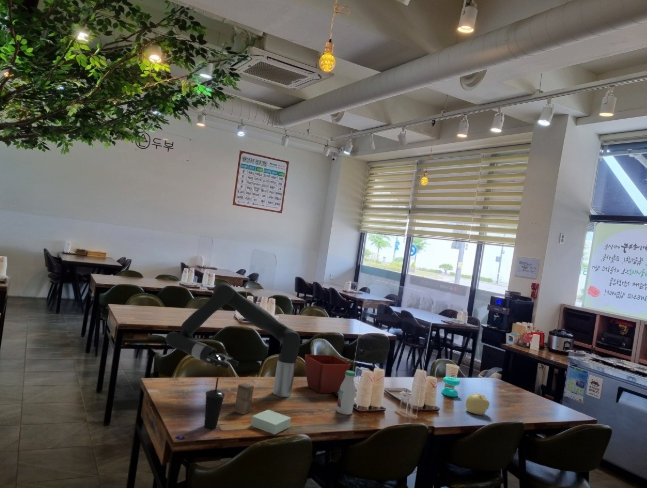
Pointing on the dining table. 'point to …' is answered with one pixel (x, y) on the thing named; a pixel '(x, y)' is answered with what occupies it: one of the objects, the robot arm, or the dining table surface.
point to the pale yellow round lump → (477, 404)
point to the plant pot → (325, 372)
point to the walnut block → (244, 398)
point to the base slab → (270, 421)
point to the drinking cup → (213, 407)
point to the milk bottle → (346, 394)
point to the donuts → (451, 382)
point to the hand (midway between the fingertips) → (233, 365)
